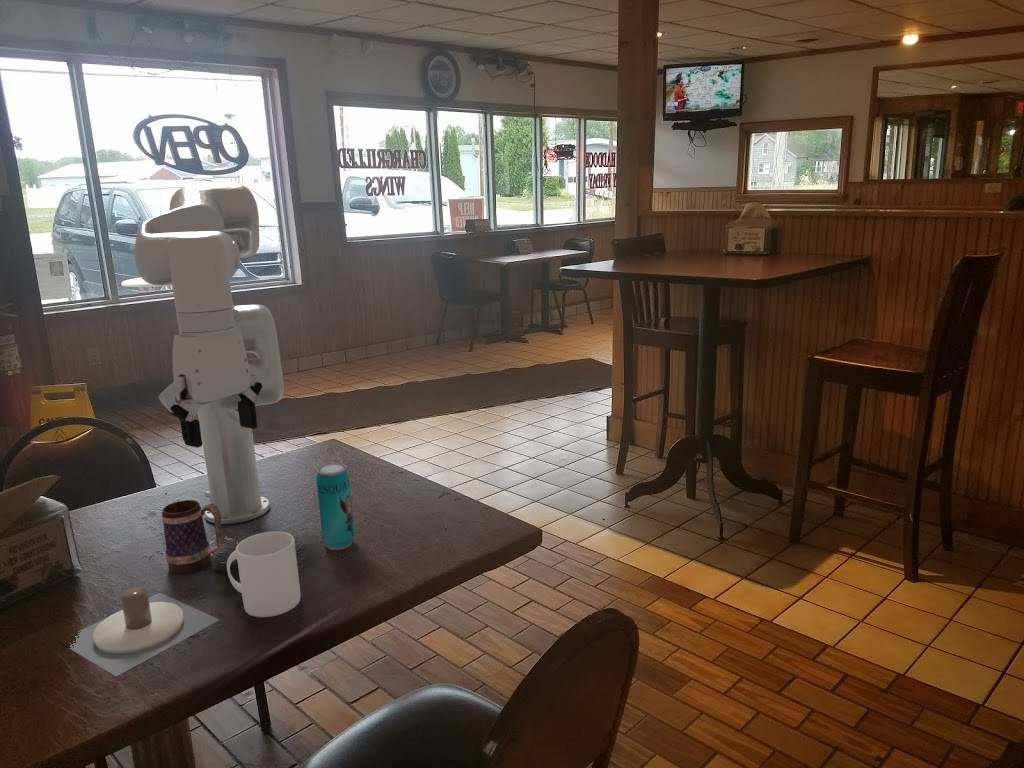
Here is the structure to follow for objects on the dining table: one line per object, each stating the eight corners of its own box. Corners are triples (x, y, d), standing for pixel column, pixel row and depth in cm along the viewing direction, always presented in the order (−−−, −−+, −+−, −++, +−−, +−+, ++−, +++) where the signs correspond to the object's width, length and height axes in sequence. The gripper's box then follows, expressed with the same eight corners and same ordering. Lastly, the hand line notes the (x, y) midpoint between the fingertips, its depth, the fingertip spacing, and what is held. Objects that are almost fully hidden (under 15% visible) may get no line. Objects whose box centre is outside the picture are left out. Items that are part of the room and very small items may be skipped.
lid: (78, 638, 109) (70, 600, 107) (155, 601, 119) (149, 565, 117) (122, 664, 102) (115, 623, 101) (200, 622, 112) (194, 585, 110)
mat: (58, 644, 109) (57, 641, 108) (160, 595, 121) (160, 592, 121) (116, 680, 100) (116, 676, 100) (220, 623, 113) (220, 619, 112)
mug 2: (248, 586, 123) (240, 526, 121) (311, 595, 120) (305, 534, 117) (214, 613, 115) (204, 550, 113) (280, 624, 112) (272, 559, 109)
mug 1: (160, 577, 127) (149, 512, 125) (182, 558, 134) (173, 496, 131) (216, 579, 126) (206, 513, 123) (236, 559, 133) (227, 496, 130)
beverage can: (347, 552, 134) (339, 474, 130) (318, 550, 135) (309, 473, 131) (360, 538, 139) (353, 463, 136) (331, 537, 140) (324, 462, 137)
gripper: (239, 312, 115) (252, 418, 119) (134, 330, 101) (153, 450, 105) (272, 314, 111) (285, 423, 115) (167, 333, 97) (186, 457, 101)
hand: (222, 436), depth 110 cm, fingers open, 9 cm apart
